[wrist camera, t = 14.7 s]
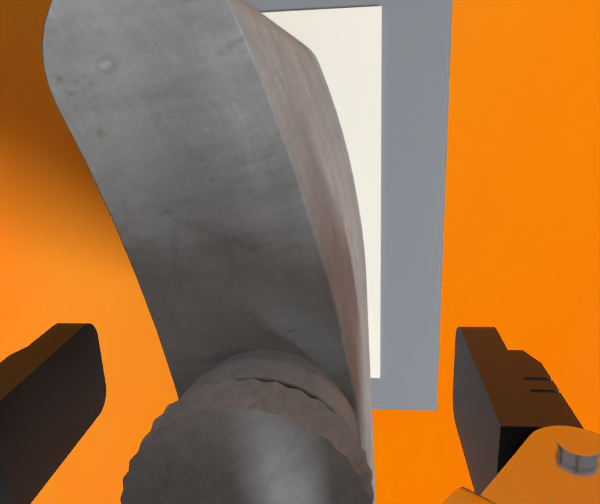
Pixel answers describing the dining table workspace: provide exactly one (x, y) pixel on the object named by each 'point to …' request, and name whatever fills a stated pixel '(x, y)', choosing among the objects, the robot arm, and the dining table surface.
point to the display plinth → (390, 167)
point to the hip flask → (228, 243)
